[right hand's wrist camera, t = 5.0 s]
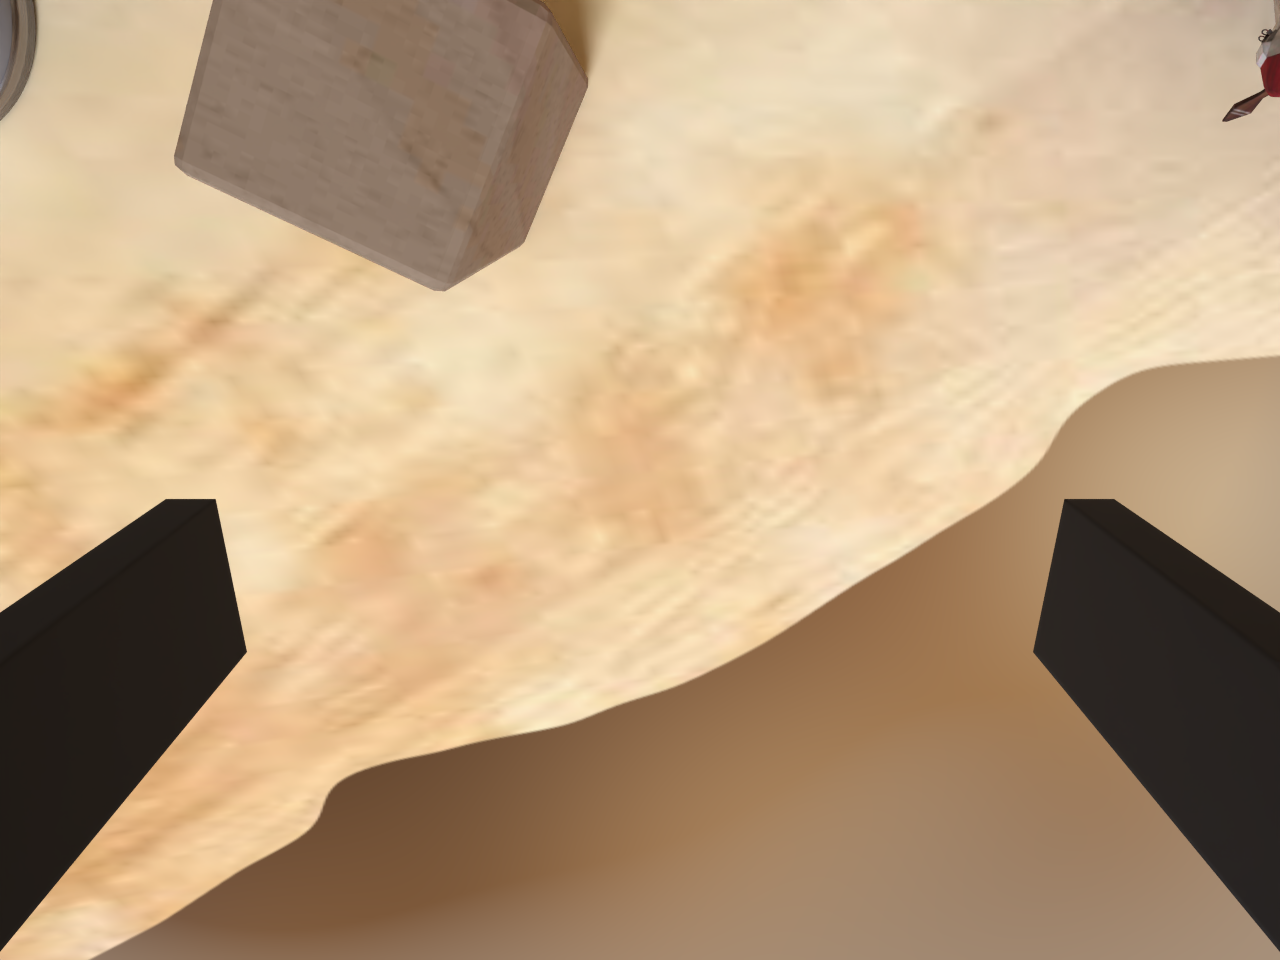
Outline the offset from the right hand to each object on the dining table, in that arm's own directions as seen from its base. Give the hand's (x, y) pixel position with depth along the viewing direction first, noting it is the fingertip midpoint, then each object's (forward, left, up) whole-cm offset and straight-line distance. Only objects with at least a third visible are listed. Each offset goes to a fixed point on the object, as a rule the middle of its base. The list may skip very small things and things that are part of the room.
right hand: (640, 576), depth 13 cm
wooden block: (-12, -3, -38) cm, 40 cm away
